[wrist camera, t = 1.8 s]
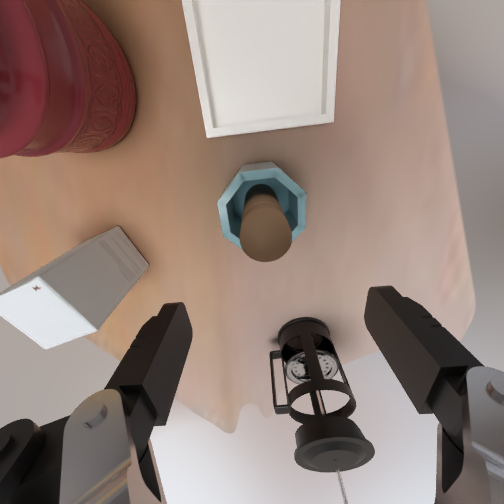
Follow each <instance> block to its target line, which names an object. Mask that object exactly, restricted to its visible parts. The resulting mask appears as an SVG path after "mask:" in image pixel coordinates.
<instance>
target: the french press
mask: <svg viewBox="0 0 504 504" xmlns="http://www.w3.org/2000/svg"><path fill="white" fill-rule="evenodd" d="M311 334H315V335H320V336H322V340H321V342H320V343H319V344H318V345H317V346H314V342H313V339H312V336H311ZM297 336H300V338H301V342H302V346H303V350H296V349H293V348H291V347H289V346H288V345H287V344H286V343H287V342H288V341H290V340H291V339H293V338H295V337H297ZM278 343H279V345H280V350H278V351H271V352H270V367H271V380H272V393H273V405H274V409H275V413H276V414H287V413H289V414H290V416H291V417H292V418H293V419H294V420H295V421H297V422H299V423H302V424H303V425H301V426H300V427H299V428H298V429H297V431H296V433H295V437H296V443H297V449H296V450H295V453H294V457H295V461H296V463H297V464H298V465H300V466H301V467H303V468H305V469H308V470H312V471H317V472H337V476H338V480H339V484H340V488H341V492H342V495H343V499H344V504H348V501H347V497H346V494H345V489H344V486H343V482H342V478H341V474H340V471H346V470H350V469H354V468H357V467H360V466H362V465H364V464H365V463H367V462H368V461H369V460H371V459H372V458H373V456H374V454H375V450H374V447H373V445H372V443H371V442H369V441H368V440H367V439H365V437H364V435H363V434H362V432H361V430H360V429H359V428H358V426H357V425H356V424H355V423H354V422H353V421H352V420H350V419H348V418H347V417H349V416H350V415H351V414H352V413H353V412H354V410H355V408H356V401H355V399H354V396H353V394H352V391H351V389H350V386H349V384H348V381H347V378H346V376H345V374H344V371H343V369H342V366H341V363H340V361H339V358H338V356H337V353H336V351H335V348H334V345H333V343H332V340H331V338H330V333H329V329H328V327H327V326H326V325H325V324H324V323H323V322H322V321H320V320H317V319H314V318H307V317H305V318H298V319H294V320H291V321H290V322H288V323H286V324H285V325H284V326H283V327H282V328H281V329H280V331H279V333H278ZM333 355H334V356H333ZM279 358H282V366H283V374H284V381H285V389H286V396H287V405H277V400H276V389H275V378H274V367H273V359H279ZM284 362H285V363H286V365H285V367H284ZM338 369H339V371H340V373H341V376H342V379H343V381H344V383H343V382H340V381H337V380H333V379H331V378H332V377H334V376H335V374H336V373H337V371H338ZM286 376H287V377H288V378H289V379H290V380H291V381H293V382H295V383H297V384H299V385H298V386H296V387H294V388H293V389H292V390H291V391H290V393H289V394H288V390H287V382H286ZM320 390H335V391H340V392H343V393H345V394H347V395H349V397H350V400H349V401H348V403H347V404H346V405H345V406H343V407H342V408H341V409H339V410H337V411H334V412H331V413H328V414H326V410H325V407H324V403H323V400H322V396H321V392H320ZM309 392H310V396H311V401H312V406H313V410H314V414H315V415H309V414H304V413H301V412H298V411H296V410H294V409H293V408H292V407H291V404H292V403H293V402H294V401H295V400H296V399H297V398H298V397H300V396H302V395H304V394H306V393H309Z"/></svg>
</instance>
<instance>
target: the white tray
mask: <svg viewBox="0 0 504 504" xmlns="http://www.w3.org/2000/svg"><path fill="white" fill-rule="evenodd" d="M340 1H341V0H182V5H183V10H184V16H185V21H186V26H187V32H188V37H189V43H190V48H191V54H192V59H193V65H194V70H195V76H196V81H197V87H198V92H199V98H200V103H201V109H202V114H203V119H204V125H205V130H206V136H207V138H217V137H224V136H232V135H240V134H248V133H256V132H264V131H272V130H280V129H288V128H296V127H304V126H312V125H320V124H327V123H331V122H334V106H335V88H336V71H337V53H338V36H339V18H340Z"/></svg>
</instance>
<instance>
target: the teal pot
mask: <svg viewBox="0 0 504 504" xmlns="http://www.w3.org/2000/svg"><path fill="white" fill-rule="evenodd" d="M257 184H265V185H268V186H270V187H271V188H272V189H273V190H274V192H275V194H276V196H277V198H278V201H279V203H280V205H281V208H282V210H283V212H284V215H285V217H286V219H287V222H288V224H289V226H290V229H291V232H292V241H293V240H294V239H295V238H296V237H297V236H298V235H299V234H300V233H301V232H302V231H303V230H304V229H305V228H306V192H305V191H304V190H303V189H302V188H301V187H300V186H299V185H298V184H297V183H296V182H295V181H293V180H292V179H291V178H290V177H289V176H288V175H287V174H286V173H285V172H283V171H282V170H281V169H280V168H279V167H278V166H277V165H276V164H275V163H273V162H272V161H270V162H262V163H254V164H245V165H242V166H241V168H240V169H239V170H238V172H237V173H236V174H235V176H234V177H233V179H232V180H231V181H230V183H229V184H228V185H227V187H226V188H225V190H224V191H223V193H222V195H221V197H220V198H219V200H218V202H217V204H218V210H219V215H220V220H221V226H222V231H223V236H224V237H225V238H227V239H228V240H230V241H231V242H233V243H234V244H235V245H237V246H238V247H240V248H241V249H242V247H241V245H240V230H241V223H242V216H243V208H244V201H245V196H246V193H247V191H248V190H249V189H250V188H251V187H252V186H254V185H257ZM242 250H243V249H242Z"/></svg>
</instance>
